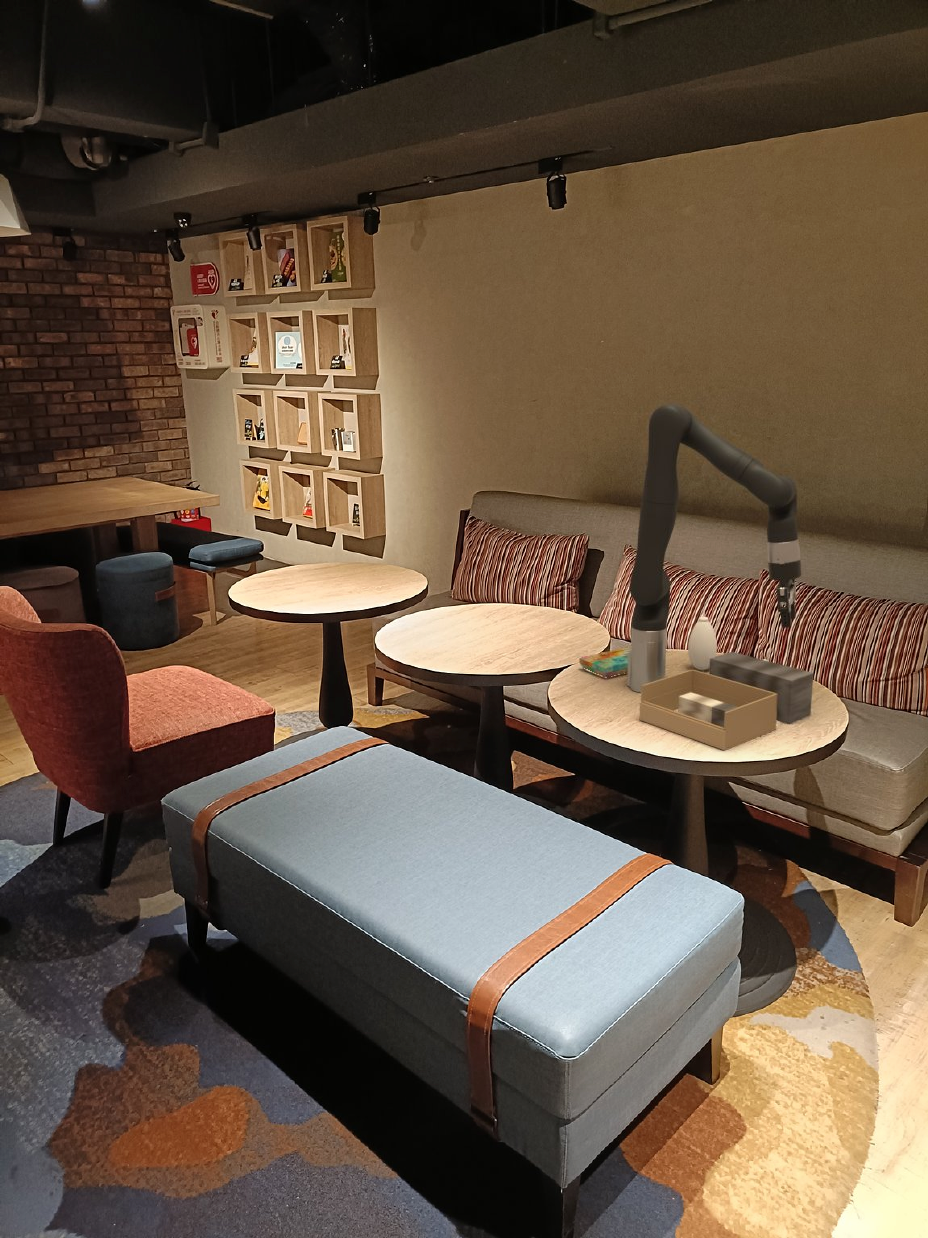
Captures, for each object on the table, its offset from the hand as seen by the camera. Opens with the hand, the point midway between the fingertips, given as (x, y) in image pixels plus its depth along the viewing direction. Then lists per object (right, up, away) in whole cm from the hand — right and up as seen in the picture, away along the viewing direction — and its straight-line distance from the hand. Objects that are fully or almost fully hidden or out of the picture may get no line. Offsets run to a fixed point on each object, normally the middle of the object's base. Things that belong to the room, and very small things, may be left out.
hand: (788, 623), depth 229 cm
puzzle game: (-35, -14, +39) cm, 55 cm away
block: (-22, -25, -5) cm, 33 cm away
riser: (-6, -21, +6) cm, 23 cm away
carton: (-22, -25, -5) cm, 33 cm away
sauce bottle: (-12, -14, +36) cm, 41 cm away
